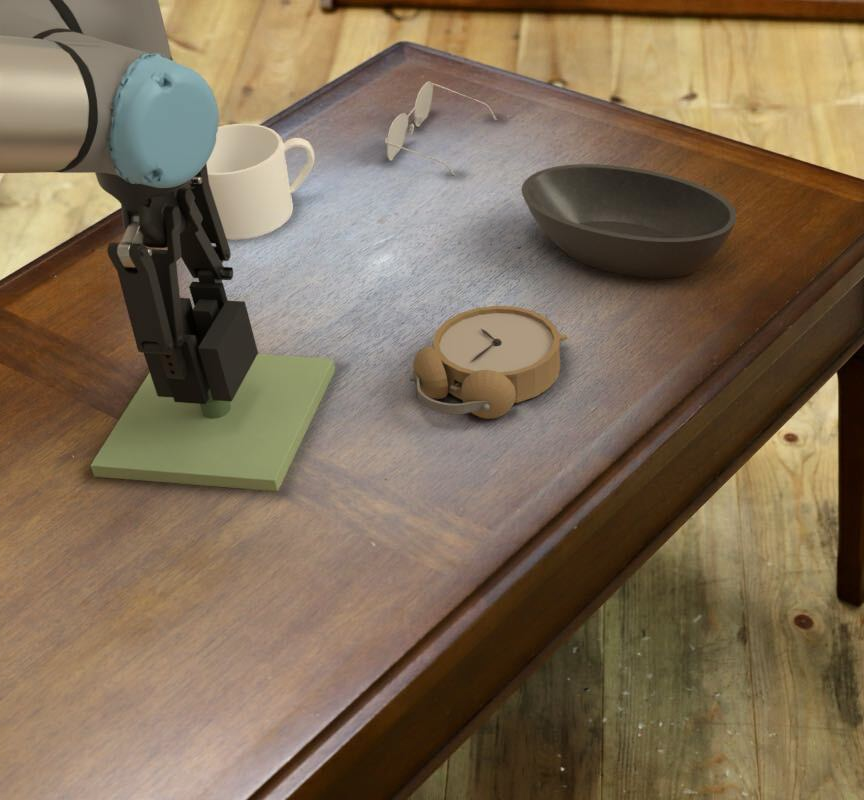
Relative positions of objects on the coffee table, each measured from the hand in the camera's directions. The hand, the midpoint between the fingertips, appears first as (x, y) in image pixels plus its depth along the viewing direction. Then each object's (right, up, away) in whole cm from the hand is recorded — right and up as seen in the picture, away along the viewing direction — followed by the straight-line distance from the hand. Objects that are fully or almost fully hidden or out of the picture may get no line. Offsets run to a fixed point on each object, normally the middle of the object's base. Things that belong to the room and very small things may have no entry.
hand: (207, 372), depth 116 cm
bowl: (+36, +12, +21) cm, 43 cm away
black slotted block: (0, 0, 0) cm, 0 cm away
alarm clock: (+23, -1, +7) cm, 24 cm away
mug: (-3, +17, +30) cm, 34 cm away
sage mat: (0, -4, +3) cm, 6 cm away
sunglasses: (+15, +26, +39) cm, 50 cm away
